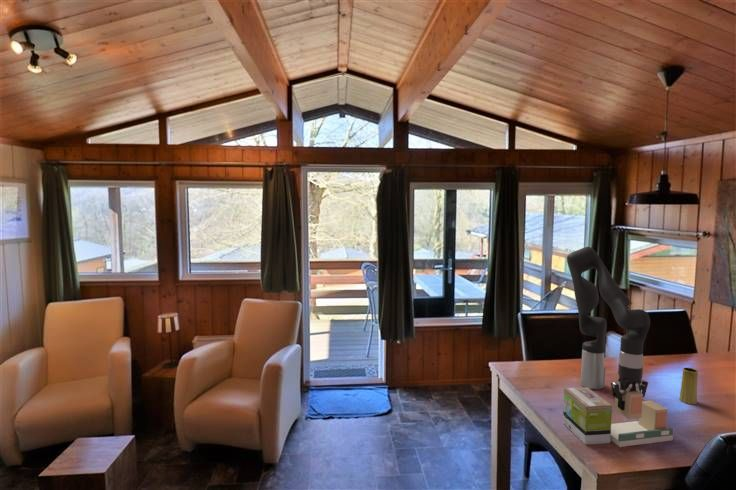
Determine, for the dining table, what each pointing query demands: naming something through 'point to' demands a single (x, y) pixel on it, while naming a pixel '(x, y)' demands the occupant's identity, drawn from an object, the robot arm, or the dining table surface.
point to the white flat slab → (638, 434)
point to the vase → (689, 386)
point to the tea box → (587, 415)
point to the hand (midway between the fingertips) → (627, 408)
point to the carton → (631, 405)
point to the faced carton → (653, 416)
